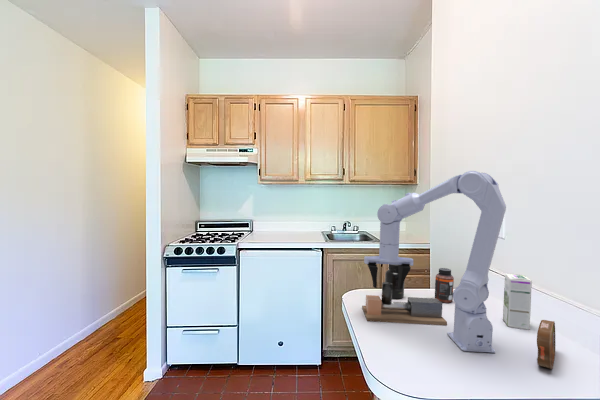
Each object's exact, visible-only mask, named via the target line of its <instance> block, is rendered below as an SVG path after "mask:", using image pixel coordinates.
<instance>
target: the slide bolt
mask: <svg viewBox="0 0 600 400" xmlns="http://www.w3.org/2000/svg"><path fill="white" fill-rule="evenodd" d="M381 300H382V304H381V309H386V310H405V311H411V303H409V302H408V301H407V302H405V301H393V299H392V283H389V282H385V281H383V282H381Z"/></svg>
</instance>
